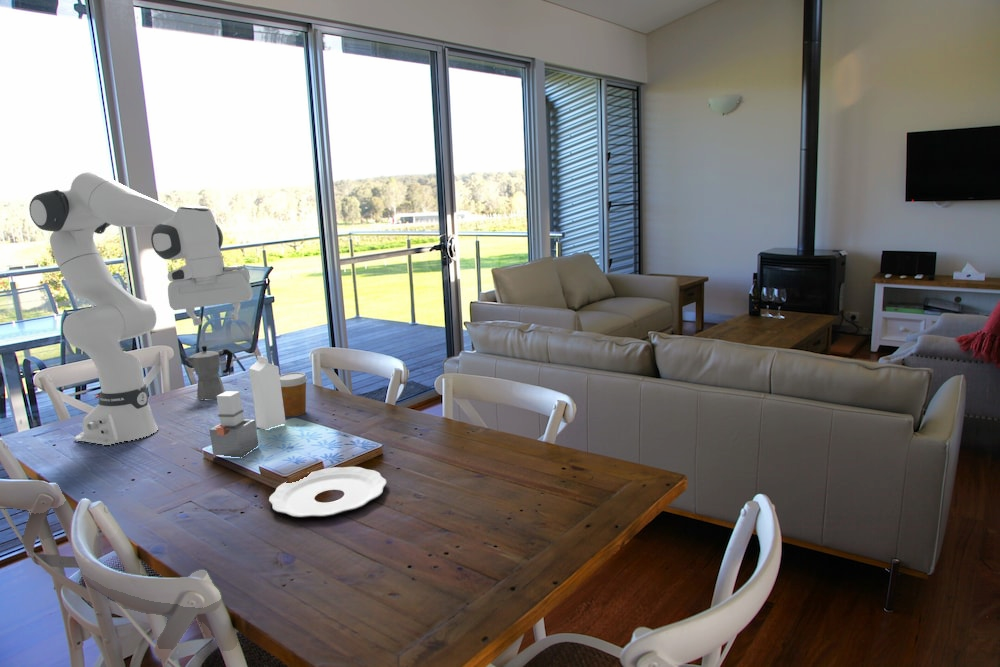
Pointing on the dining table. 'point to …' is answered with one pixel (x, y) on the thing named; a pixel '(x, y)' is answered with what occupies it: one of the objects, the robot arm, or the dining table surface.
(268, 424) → the milk
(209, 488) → the dining table surface
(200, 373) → the coffeepot
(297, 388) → the disposable coffee cup
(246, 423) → the stand
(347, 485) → the plate
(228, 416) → the column
